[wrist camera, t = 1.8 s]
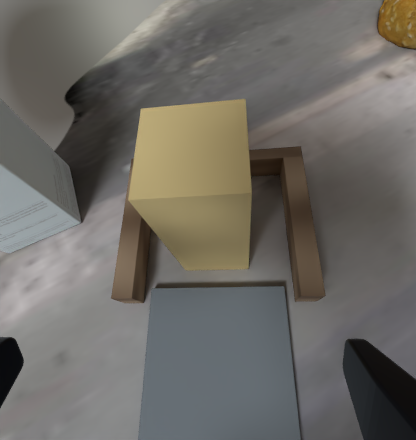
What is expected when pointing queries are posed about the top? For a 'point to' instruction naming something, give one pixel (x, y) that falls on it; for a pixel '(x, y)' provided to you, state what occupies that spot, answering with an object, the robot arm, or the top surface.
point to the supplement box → (31, 186)
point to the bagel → (398, 22)
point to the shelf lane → (295, 225)
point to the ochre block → (196, 182)
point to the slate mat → (218, 366)
